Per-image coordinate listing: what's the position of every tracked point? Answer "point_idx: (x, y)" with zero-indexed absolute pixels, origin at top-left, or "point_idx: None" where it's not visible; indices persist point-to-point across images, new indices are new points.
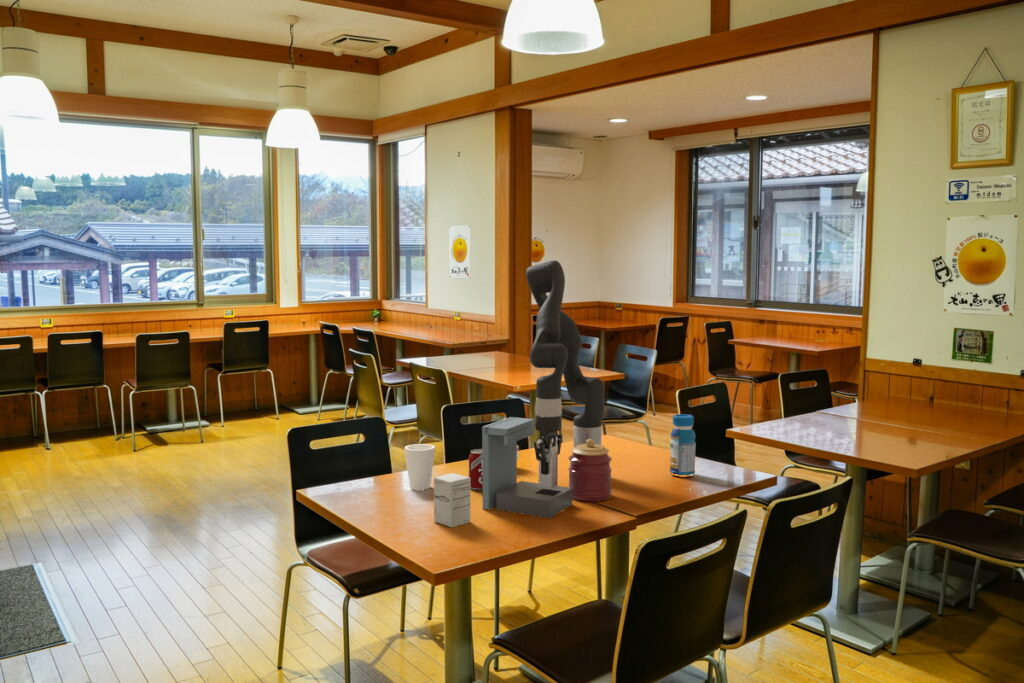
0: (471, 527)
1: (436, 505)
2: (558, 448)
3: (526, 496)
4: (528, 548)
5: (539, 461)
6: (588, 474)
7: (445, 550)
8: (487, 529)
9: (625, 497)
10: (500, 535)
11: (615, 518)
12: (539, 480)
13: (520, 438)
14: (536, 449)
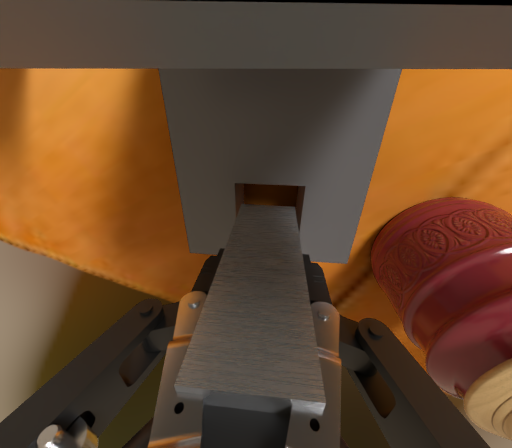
0: (5, 71)
1: None
2: (365, 399)
3: (186, 175)
4: (40, 253)
5: (216, 276)
6: (403, 322)
7: None
8: (36, 127)
9: None
10: (38, 179)
11: None
12: (236, 219)
13: (146, 63)
14: (52, 392)
